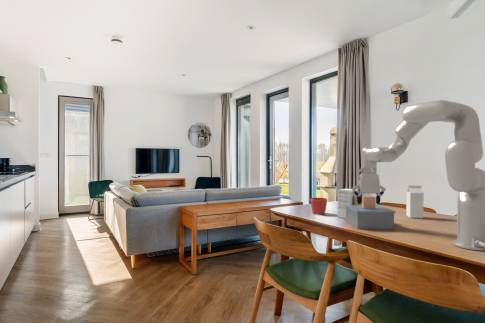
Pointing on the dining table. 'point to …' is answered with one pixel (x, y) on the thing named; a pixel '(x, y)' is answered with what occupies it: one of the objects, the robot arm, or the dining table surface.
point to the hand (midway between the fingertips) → (368, 203)
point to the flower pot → (318, 205)
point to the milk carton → (414, 202)
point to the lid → (369, 206)
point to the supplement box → (345, 201)
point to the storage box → (370, 220)
